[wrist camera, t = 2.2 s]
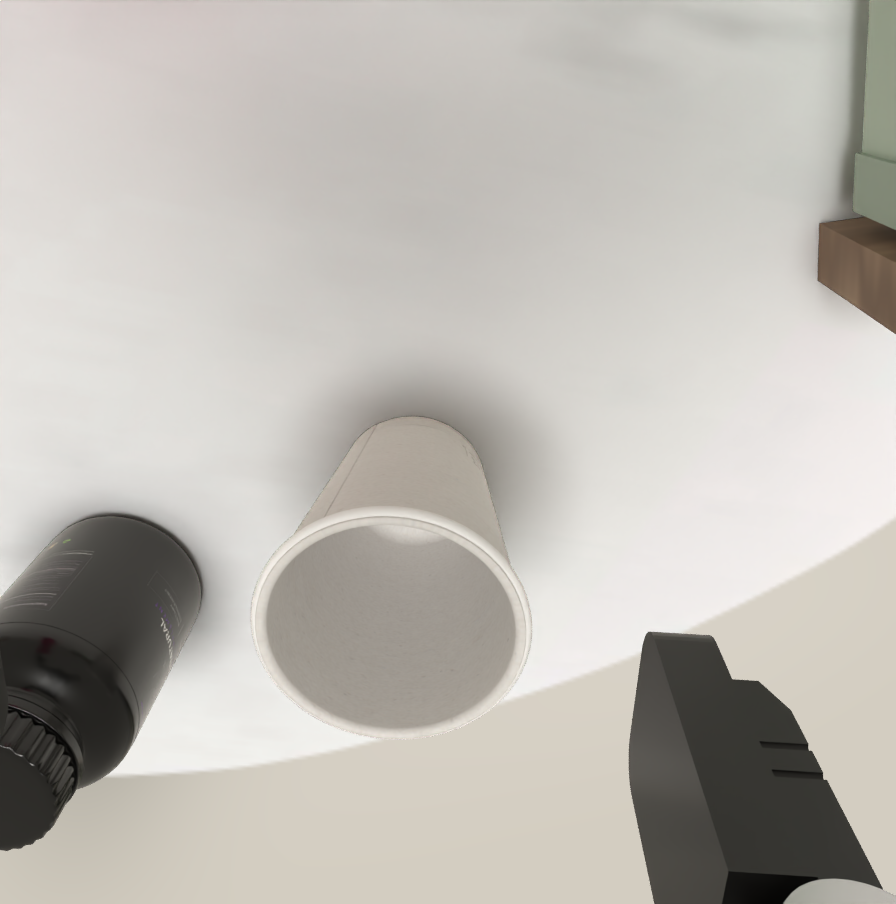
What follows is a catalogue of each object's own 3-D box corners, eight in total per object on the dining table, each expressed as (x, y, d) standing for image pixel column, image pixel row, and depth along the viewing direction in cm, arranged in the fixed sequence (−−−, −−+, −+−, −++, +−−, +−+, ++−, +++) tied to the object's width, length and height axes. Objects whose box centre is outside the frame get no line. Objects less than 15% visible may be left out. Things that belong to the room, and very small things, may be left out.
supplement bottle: (237, 606, 37) (137, 836, 26) (113, 664, 39) (-29, 904, 28) (140, 482, 35) (-14, 678, 24) (12, 549, 36) (-187, 762, 26)
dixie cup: (379, 599, 37) (345, 778, 28) (268, 443, 34) (191, 587, 25) (554, 518, 35) (580, 683, 26) (454, 345, 32) (443, 462, 23)
